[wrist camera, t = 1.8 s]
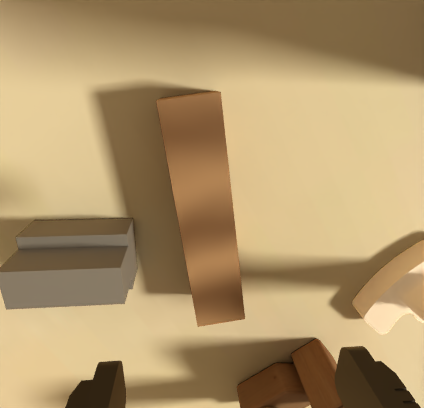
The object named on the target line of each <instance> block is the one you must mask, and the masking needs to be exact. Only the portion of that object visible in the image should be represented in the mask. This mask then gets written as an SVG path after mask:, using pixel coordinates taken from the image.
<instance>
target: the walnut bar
mask: <svg viewBox="0 0 424 408" xmlns="http://www.w3.org/2000/svg"><path fill="white" fill-rule="evenodd" d="M156 103H157V109H158V114H159V119H160V125H161V130H162V136H163V141H164V146H165V152H166V157H167V163H168V168H169V174H170V179H171V184H172V190H173V195H174V201H175V206H176V211H177V217H178V222H179V228H180V233H181V238H182V244H183V249H184V255H185V260H186V265H187V271H188V276H189V282H190V287H191V293H192V298H193V303H194V309H195V314H196V320H197V325H198V327H199V326H205V325H211V324H217V323H223V322H229V321H235V320H241V319H245V314H244V305H243V295H242V286H241V277H240V268H239V258H238V249H237V240H236V231H235V221H234V212H233V203H232V194H231V184H230V175H229V166H228V157H227V147H226V138H225V129H224V119H223V110H222V101H221V92H218V91H209V92H202V93H194V94H187V95H180V96H172V97H165V98H160V99H158V100H157V101H156Z"/></svg>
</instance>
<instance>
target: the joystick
mask: <svg viewBox="0 0 424 408" xmlns="http://www.w3.org/2000/svg"><path fill="white" fill-rule="evenodd" d="M352 305H353V306H354V307H355V309H356V310H357V311H358V313H359V314H360V315H361V317H362V318H363V319H364V320H365V322H367V323H368V324H369V325H370V326H371V327H372V328H373V329H374V330H376V331H377V332H378V333H379V334H382V335H383V334H386V333H388V332H389V331H390V329H391V328H392V327H393V325H394V324H395V323H396V322H397V320H398V319H399V318H400V317H401V316H402V315H404V314H412V315H413V316H414V317H415V318H416V319H417V320H418V321H419V322H422V323H424V239H423V240H422V241H420V242H418V243H416V244H415V245H413V246H411V247H410V248H408V249H406V250H405V251H403V252H402V253H401V254H399V255H398V256H396V257H395V258H394V259H392V260H391V261H390V262H389V263H387V264H386V265H385V266H384V267H383V268H381V269H380V270H379V271H378V272H377V273H376V274H375V275H374V276H373V277H372V278H371V279H370V280H369V281H368V282H367V283H366V284H365V285H364V287H363V288H362V289H361V290H360V291H359V293H358V294H357V295H356V297H355V298H354V299H353V301H352Z"/></svg>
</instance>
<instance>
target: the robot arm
mask: <svg viewBox="0 0 424 408" xmlns="http://www.w3.org/2000/svg"><path fill="white" fill-rule="evenodd" d="M335 387H336V390H337V393H338V396H339V398H340V400H341V402H342V404H343V406H344V408H421V407H420V406H419V405H418V403H416V402H415V399H414V398H413V397H412V395H411V394H410V392H409V391H407V390H406V387H405V386H404V384H403V383H402V382H401V380H400V379H399V377H398V376H397V375H396V373H395V372H393V371H392V370H391V369H390V368H389V367H387V366H386V365H385V364H384V363H383V362H381V361H376V362H375V361H374V359H373V358H372V356H371V355H370V353H369V352H368V350H367V349H366V348H365V347H363V346H357V347H343V348H341V350H340V354H339V359H338V363H337V368H336V372H335ZM125 404H126V388H125V381H124V373H123V366H122V361H108V362H99V363H98V365H97V368H96V371H95V375H94V378H93V380H84V381H81V382H80V383H79V385H78V386H77V387H76V388H75V390H74V391H73V392H72V394H71V395H70V396H69V399H68V402H67V405H66V407H65V408H125Z"/></svg>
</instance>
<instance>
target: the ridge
mask: <svg viewBox="0 0 424 408" xmlns="http://www.w3.org/2000/svg"><path fill="white" fill-rule="evenodd" d="M16 241H17V245H18V250H17V251H16V252H15V253H14V254H13V255H12V256H11V257H10V258H9V259H8V260H7V261H6V262H5V263H4V264H3V265H2V266H1V267H0V290H1V293H2V296H3V300H4V303H5V307H6V309H25V308H46V307H67V306H88V305H109V304H125V301H126V297H127V293H128V289H133V285H134V281H135V277H136V272H137V257H136V246H135V235H134V224H133V218H117V219H75V220H34V221H33V222H32V223H31V224H30V225H29V226H28V227H26V228H25V229H24V230H23V231H22V232H21V233H20V234H19V235H18V236H17V237H16Z"/></svg>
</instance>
